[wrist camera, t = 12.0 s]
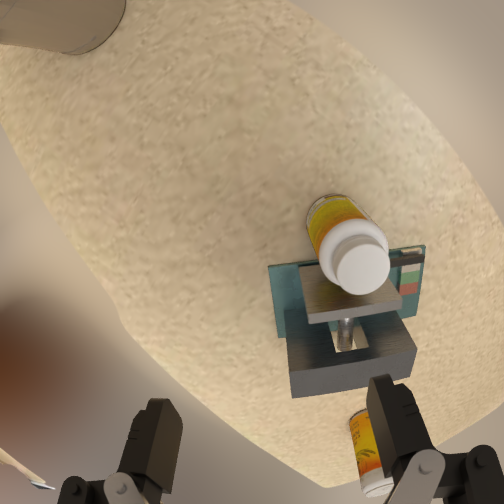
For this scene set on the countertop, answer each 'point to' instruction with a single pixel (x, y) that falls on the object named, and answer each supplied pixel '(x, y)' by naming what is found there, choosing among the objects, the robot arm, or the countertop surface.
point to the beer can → (368, 457)
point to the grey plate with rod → (347, 299)
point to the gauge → (364, 333)
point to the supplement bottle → (348, 244)
